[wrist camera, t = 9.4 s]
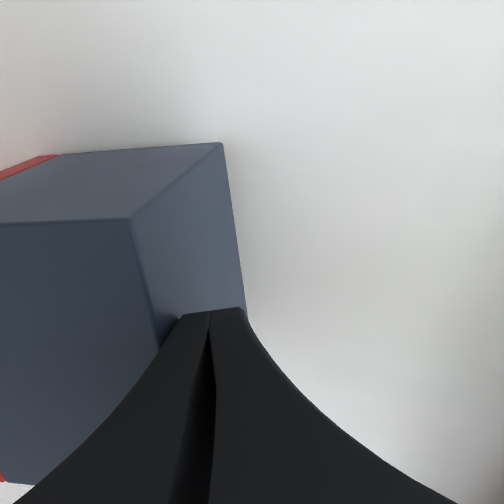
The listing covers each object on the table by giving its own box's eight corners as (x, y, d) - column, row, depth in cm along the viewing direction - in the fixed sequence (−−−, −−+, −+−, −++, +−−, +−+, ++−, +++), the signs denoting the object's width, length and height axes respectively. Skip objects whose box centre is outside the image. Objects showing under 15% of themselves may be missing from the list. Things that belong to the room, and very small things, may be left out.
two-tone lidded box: (197, 506, 11) (-22, 480, 12) (252, 347, 16) (95, 342, 17) (129, 218, 8) (-147, 229, 9) (223, 140, 13) (38, 155, 15)
